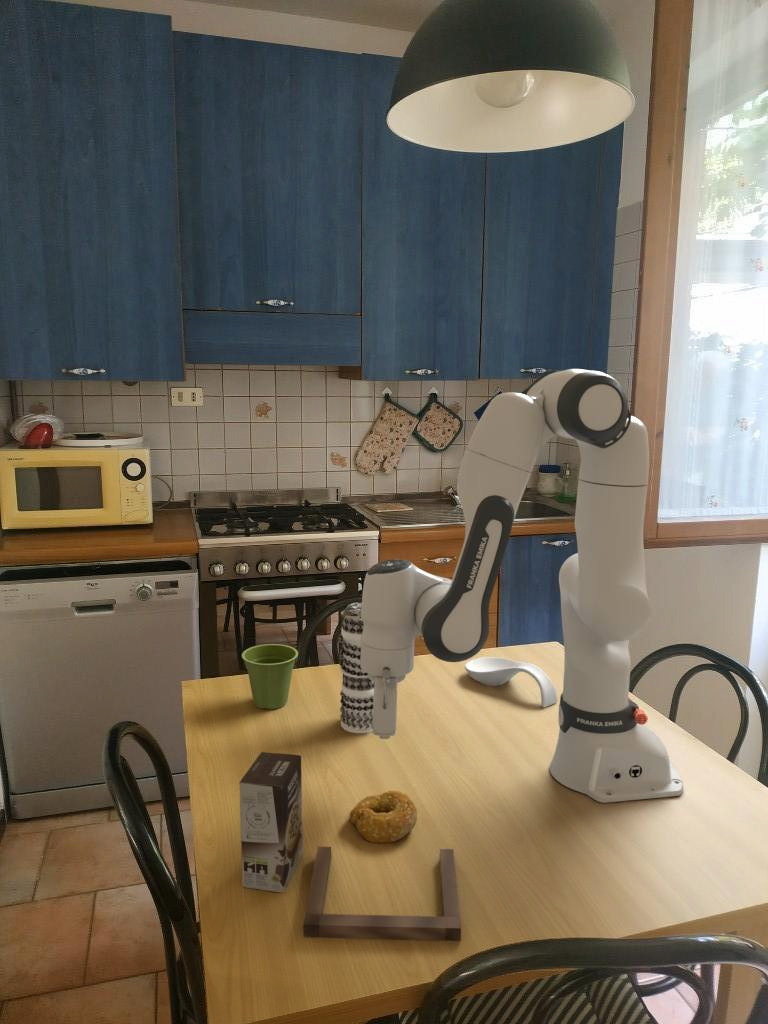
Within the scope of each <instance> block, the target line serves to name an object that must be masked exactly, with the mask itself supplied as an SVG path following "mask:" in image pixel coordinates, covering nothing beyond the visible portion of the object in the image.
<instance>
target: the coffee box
mask: <svg viewBox="0 0 768 1024" xmlns="http://www.w3.org/2000/svg"><path fill="white" fill-rule="evenodd" d="M238 782H239V805H240V806H239V808H240V810H239V811H240V814H239V815H240V842H241V844H240V845H241V872H242V873H241V874H242V875H241V879H242V881H241V882H242V887H243V888H248V889H256V890H260V891H261V890H262V891H269V892H274V893H279V894H280V893H281V894H282V893H285V891H286V888H287V887H288V885H289V883H290V881H291V878H292V877H293V874H294V873H295V871H296V869H297V866H298V864H299V862H300V861H301V858H302V857H303V854H304V838H303V833H304V832H303V831H304V830H303V791H302V788H303V786H302V755H301V754H300V755H299V754H294V753H293V754H292V753H282V752H281V753H280V752H278V753H277V752H264V751H261V752H260V753H259V755H258V756H257V757H256V758H255V760H254V762H253V763H252V764H251V766H249V768H248V770H247V771H246V772H245V774H244V775H243V777H242V778H241V780H240V781H238Z"/></svg>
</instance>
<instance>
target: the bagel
mask: <svg viewBox="0 0 768 1024" xmlns="http://www.w3.org/2000/svg"><path fill="white" fill-rule="evenodd" d="M348 817H349V820H350V822H351V823H352V824H354V826H355V827H356V829H357V831H358V833H359V835H360V836H362V837H364V839H365V840H367V841H369V842H370V843H373V844H381V843H382V844H390V843H394V842H396V841H398V840H401V839H402V838H404V837H405V836H406V835H408V834H409V833H410V832H411V831H412V830H413V829H414V827H415V826H416V822H417V821H418V810H417V807H416V804H415V803H414V802H413V800H412V799H411V798H410V796H409V795H408V794H407V793H403V792H402V791H400V790H399V791H398V790H387V791H385V792H382V793H380V794H375V795H368V796H366V797H365V798H363V799H361V800H359V802H358V803H357V804H356V805H355V806H354V807H353V808H352V809H351V811H350V812H349V816H348Z"/></svg>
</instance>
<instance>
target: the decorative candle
mask: <svg viewBox="0 0 768 1024" xmlns="http://www.w3.org/2000/svg"><path fill="white" fill-rule="evenodd" d="M340 615H341V617H342V618H341V619H342V620H341V621H342V622H341V623H342V624H341V625H342V626H341V632H340V634H339V635H338V649H339V666H340V668H339V669H340V672H341V673H342V682H341V691H340V692H339V695H340V697H341V698H340V699H339V700H340V707H339V708H340V709H339V710H340V715H339V717H340V720H341V721H340V725H341V728H342V729H344V730H345V731H346V732H349V733H353V734H370V733H373V729H372V724H373V696H374V684H375V682H374V681H372V680H370V679H369V678H368V673H366V672H364V671H363V670H362V669H361V667H360V655H361V635H362V632H363V628H364V623H363V619H362V601H361V602H353V603H350V604H348V605H347V606H346V608H345V609H344V610H341V612H340Z"/></svg>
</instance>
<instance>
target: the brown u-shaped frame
mask: <svg viewBox="0 0 768 1024" xmlns="http://www.w3.org/2000/svg"><path fill="white" fill-rule="evenodd" d="M331 862H332V846H317V849H316V854H315V861H314V865H313V871H312V876H311V881H310V887H309V892H308V897H307V903H306V908H305V914H304V920H303V926H302V927H303V938H318V939H319V938H324V939H325V938H327V939H328V938H329V939H330V938H331V939H365V940H366V939H367V940H369V939H370V940H374V939H375V940H404V941H405V940H406V941H407V940H411V941H412V940H415V941H419V940H420V941H448V940H461V941H462V924H461V913H460V903H459V894H458V884H457V883H458V881H457V874H456V872H457V871H456V864H455V863H456V862H455V851H454V849H453V848H452V849H451V848H439V869H440V872H439V873H440V884H441V885H440V886H441V901H442V916H430V915H429V916H427V915H426V916H425V915H389V914H388V915H384V914H383V915H382V914H381V915H379V914H378V915H377V914H345V913H343V914H337V913H324V909H325V902H326V896H327V888H328V883H329V878H330V877H329V876H330V875H329V874H330V871H331Z"/></svg>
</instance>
